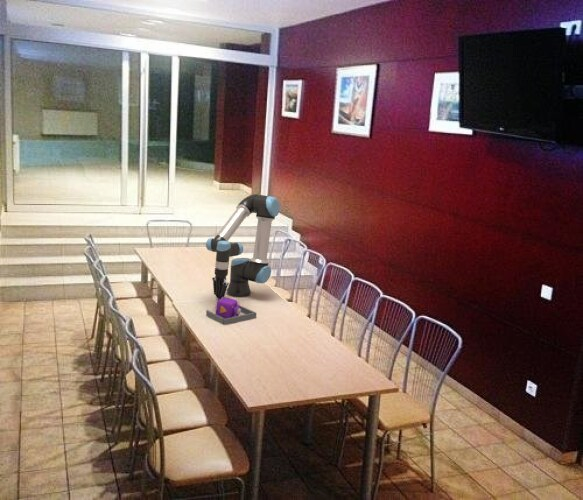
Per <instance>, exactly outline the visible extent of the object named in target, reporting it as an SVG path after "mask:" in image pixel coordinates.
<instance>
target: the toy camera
mask: <svg viewBox="0 0 583 500" xmlns="http://www.w3.org/2000/svg"><path fill="white" fill-rule="evenodd" d="M237 304H239V303H238V300H237V299H234V298H230V297H228V296H226V295H225V296H224V297H222V298H221V299H220V300H218V302H217V307H216V306H215V307H216V308H215V314H216V315H219V316H221V317H223V318H225V319H226V318H231V317H235V316H240V314H241V313H242V312H241V306H242V305H240V306H237Z"/></svg>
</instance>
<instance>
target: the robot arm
mask: <svg viewBox="0 0 583 500" xmlns="http://www.w3.org/2000/svg"><path fill="white" fill-rule="evenodd" d="M280 205H281V204H280V201H279V200H278V198H277V197H273V196H270V195H263V194H258V193H254V194H249V195H247V196H246V197H244V198H243V199H242V200H241V201H240V202H239V203H238V204H237V205H236V209H235V211H234V212H233V213H232V215H230V217H229V218H228V220H227V221H226V222H225V223H224V225H223V226H222V228H221V229H220V230H219V231H218V233H217V234H216V235H215V237H214V238H213V237H211V238H209V239H207V240H206V243H205V247H206V249H207V250H208V251H209V252H212V253H216V254H215V255H216V256H215V265H214V277H212V279H211V280H212V282H213V283H212V284H213V285H212V286H213V287H212V288H213V295H215V309H216V307H217V302H218V300H220V299H221V298H223V297H225V296H226V294H227V295H228V296H231V297H236V298H237V297H238V298H245V297H249V296H250V295H251V288H250V284H249V282H253V283H257V284H266V283H267V282H268V281H269V280H270V278H271V275H272V268H271V266H270V265H269V262H270V261H268V253H269V244H270V238H271V231H272V230H271V229H272V225H273V224H272V223H273V221H274V220H275V218H276V217H277V216H279V213H280V210H281V206H280ZM251 214H255V217H256V219H257V223H256V224H257V225H256V232H255V238H254V239H255V241H254V248H253V255H252V258H249V257H238V256H240V255H242V254H243V252H244V246H243V244H242V243H241V242H238V241H237V242H230V241H229V240H230V239H231V237H233V235H234V234H235V233H236V231H237V230H238V229H239V227H240V226H241V225H242V223H243V222H244V221H245V219H246V218H247V217H249V216H251ZM232 257H237V258H233V259H231V261H230V258H232ZM229 264H230V273H229ZM228 274H230V275H229V276H230V277H229V282H227V276H228Z"/></svg>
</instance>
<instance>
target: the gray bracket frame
mask: <svg viewBox="0 0 583 500" xmlns="http://www.w3.org/2000/svg"><path fill="white" fill-rule="evenodd" d="M237 306H241V312H240V313H243V314H241V315H240V314H239V316H236V315H234V316H233V317H231V318H224V317H221V316H219V315H216V313H214V312H212V311H210V310H209V309H208V308H207V309H205V316H206V317H207V318H210V319H212V320H213V321H216V322H217V323H219V324H221V325H224V326H226V325H229V324H235V323H239V322H244V321H249V320H252V319H257V312H256V311H254V310H251V309H249V308H247V307H244V306H242V305H240V304H239V303H237Z"/></svg>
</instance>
